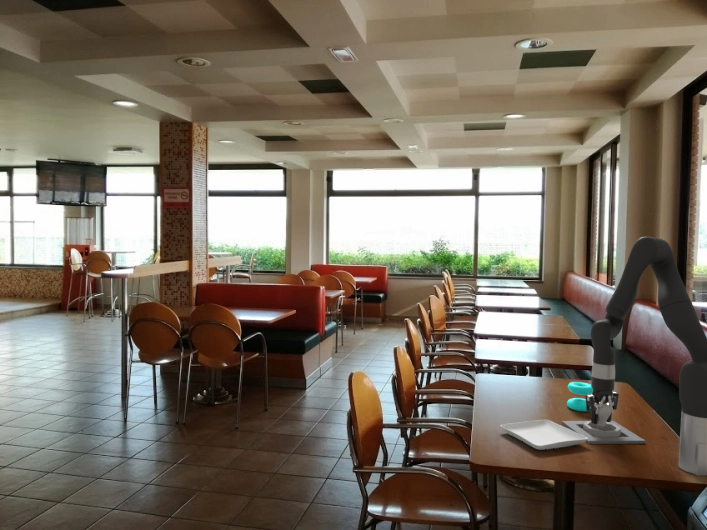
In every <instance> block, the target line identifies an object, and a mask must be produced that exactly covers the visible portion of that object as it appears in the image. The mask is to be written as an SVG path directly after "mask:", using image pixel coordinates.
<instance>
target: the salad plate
mask: <svg viewBox="0 0 707 530" xmlns="http://www.w3.org/2000/svg"><path fill="white" fill-rule="evenodd" d="M499 426H500V427H499V428H500V429H501V430H502V431H504V432H505V433H507V434H508V435H510V436H511V437H514V438H515V439H517V440H519V441H521V442H522V441H523V443H524V444H526V445H528V446H530V447H532V448H534V449H536V450H538V451H539V450H540V451H543V450H544V451H545V449H546V450H551V449H552V450H554V449H559V448H560V449H561V448H566V447H572V446H575V445H576V446H577V445H580V444H584V443H585V441H587V440H588V438H587V437H585V436H583V435H581V434H579V433H576V432H574V431H572V430H570V429H568V428H567V427H566V426H564V425H561V424H558V423H556V422H554V421H552V420H550V419H545V418H544V419H536V420H535V419H534V420H526V421H525V420H524V421H517V422H511V423H510V422H509V423H504V424H500V425H499ZM553 448H554V449H553Z"/></svg>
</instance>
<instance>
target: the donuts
mask: <svg viewBox="0 0 707 530" xmlns="http://www.w3.org/2000/svg"><path fill="white" fill-rule="evenodd" d="M567 389H568V390H569V392H571V393H573V394H575V395H581V396H586V395H592V393H593V388H592V387H591V383H587V382H582V381H570V382H569V383H568V385H567ZM566 405H567V407H568V408H569V409H570V410H572V411H577V412H588V411H587V410H586V398H582V397H573V398H569V399H568V400H567V402H566ZM590 408H591V407H590Z"/></svg>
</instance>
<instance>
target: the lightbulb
mask: <svg viewBox="0 0 707 530" xmlns="http://www.w3.org/2000/svg"><path fill="white" fill-rule="evenodd" d="M595 404H596V405H598V404H597V403H595ZM595 409H596V407H594V410H595ZM610 414H611V408H610V406H609V405H608V404H606V403H604V404H602V407H601V408H600V409H599V411H598V424H597V429H598V430H603V431H606V430H605V426H606V421H607V419H608V418H609V416H610Z"/></svg>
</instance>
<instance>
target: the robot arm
mask: <svg viewBox="0 0 707 530" xmlns="http://www.w3.org/2000/svg"><path fill="white" fill-rule="evenodd" d="M624 266H625V267H624V269H623V271H622V275H621V277H620V279H619V282H618V284H617V286H616V288H615V290H614V291H613V293H612V295H611V297H610V299H609V300H608V303H607V305H606V306H605V312H606V315H605V317H604V318H603V319H600V320H597V321H595V322H593V324H592V325H591V329H590V339H591V344H592V348H593V357H592V368H591V381H590V385H591V387H592V388H593V393H592V394H589V395H584V397H585V399H586V410H587V411H586V412H589V413H590V421H591V422H592V423H593V424H598V411H599V409H600V408H601V407H602V404H604V403H606V404H608V405H609V406H610V408H611V414H610V416H609V418H608V419H607V421H606V422H611V421H612V415H613V414H612V413H613V412H614V410H617V409H618V403H619V402H618V401H619V396H620V394H619V393H618V392H615V387H616V386H615V385H616V383H615V381H616V351H615V348H614V347H612V345H611V343H612V342H611V340H612V339H613V340H614V339H615V338H617V337H618V336H619V334H620V333H621V331H622V329H623V326H624V323H625V322H626V321H625V320H626V317H627V315H628V314H629V312H630V311H631V309H632V307H633V305H634V303H635V301H636V298H637V296H638V288H639V282H640V279H641V276H642V274H643V273H644V271H646V269H647V268H648V266H650V268H651V270H652V272H653V274H654V276H655V279H656V281H657V305H658V309H659V313H661V317H662V320H663V321H664V324H665V325H666V327H667V328H668V330H669V331H670V332H671V333H672V334H673V335H674V336H675V337H676V338H677V339H678V340H679V341H680V342H681V343H682V344H683V345H684V347H685V348H686V350H687V352H688V353H689V355H690V358H691V360H692V361H686V362H685V363H684V364H683V365H682V366H681V368H680V371H679V378H678V384H679V385H678V392H679V393H678V395H679V396H678V397H679V402H680V404H681V413H680V414H681V415H680V416H681V418H680V432H679V448H678V449H679V451H678V453H679V454H678V467H679V469H681V470H683V471H684V472H687V473H690V474H693V475H695V476H707V335H706V333H705V330H704V328H703V326H702V323H701V322H700V320H699V317H698V315H697V312H696V310H695V307H694V305H693V302H692V300H691V297H690V295H689V294H688V292H687V289H686V287H685V285H684V284H685V283H684V282H683V279H682V278H681V275H680V272H679V268H678V266H677V263H676V260H675V255H674V252H673V249H672V247H671V245H670V244H669V243H668V242H667V241H666V240H665V239H662V238H658V237H653V236H642V237H639V238H638V239H637V240H635V242H634V243H633V245H632V248H631V250H630V252H629V255H628V258H627V260H626V264H625V265H624ZM595 403H597V404H598V405H596V404H595ZM590 407H591V408H590ZM594 407H596V409H595V410H594Z"/></svg>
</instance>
